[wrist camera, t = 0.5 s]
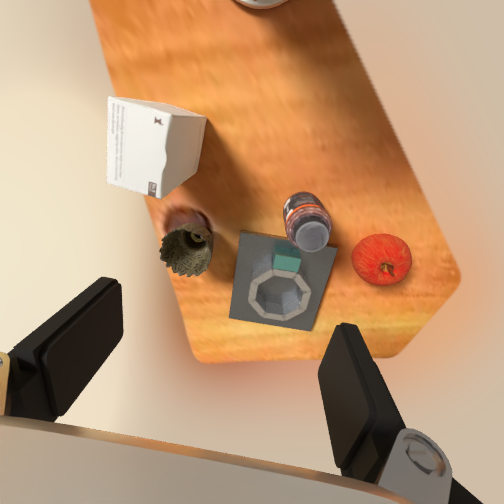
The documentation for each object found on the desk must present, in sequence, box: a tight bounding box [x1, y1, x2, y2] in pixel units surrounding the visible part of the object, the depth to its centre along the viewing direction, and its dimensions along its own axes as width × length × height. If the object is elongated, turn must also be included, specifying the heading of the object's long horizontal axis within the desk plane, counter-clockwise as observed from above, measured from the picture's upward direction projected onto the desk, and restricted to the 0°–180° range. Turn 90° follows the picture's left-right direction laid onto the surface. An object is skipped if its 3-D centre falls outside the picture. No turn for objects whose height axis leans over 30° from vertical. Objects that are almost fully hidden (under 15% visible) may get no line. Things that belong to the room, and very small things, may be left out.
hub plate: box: [229, 230, 338, 331], centre depth 44 cm, size 18×16×4 cm
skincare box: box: [107, 96, 207, 199], centre depth 30 cm, size 8×6×15 cm
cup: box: [159, 223, 213, 277], centre depth 39 cm, size 8×7×8 cm
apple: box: [352, 234, 412, 286], centre depth 38 cm, size 8×8×8 cm
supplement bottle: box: [283, 192, 332, 252], centre depth 35 cm, size 6×6×11 cm
